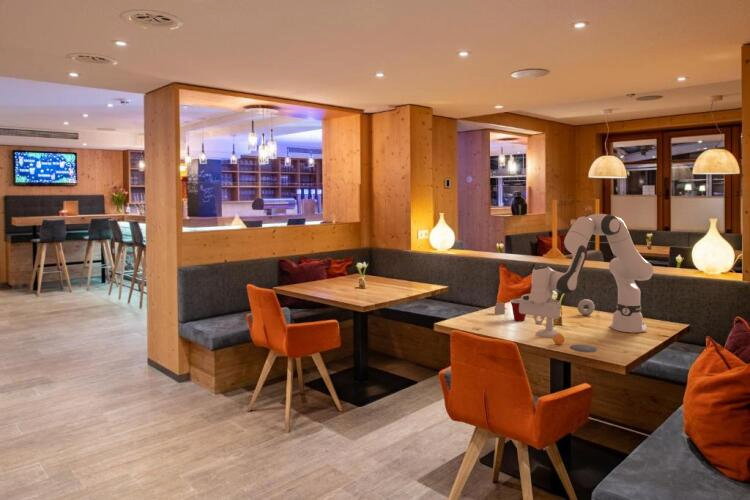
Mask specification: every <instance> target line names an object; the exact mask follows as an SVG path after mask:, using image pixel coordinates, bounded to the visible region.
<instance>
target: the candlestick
mask: <svg viewBox="0 0 750 500" xmlns="http://www.w3.org/2000/svg"><path fill="white" fill-rule="evenodd" d="M554 293H555V291H553V290H551V289H550V290H549V299H553V296H554ZM545 319H546V321H545V328H543V329H539V330H538V331H536V333H535V334H536V335H537V336H538V337H541V338H547V339H553V336H554V335H555V334H557V333H560V334H562V333H561V332H560V331H559V330H555V329H554V328H553V327H554V324H553V320H554V318H548V317H546V318H545Z"/></svg>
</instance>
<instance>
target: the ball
mask: <svg viewBox="0 0 750 500" xmlns="http://www.w3.org/2000/svg"><path fill="white" fill-rule="evenodd" d="M560 333H561V332H560ZM560 333H557V334H555V335H554V336H553V338H552V341H553V342H554V343H555V344H556V345H562V344H563V343H564V342H565V336H564V335H563V334H562V333H561V334H560Z"/></svg>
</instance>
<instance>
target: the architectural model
mask: <svg viewBox="0 0 750 500" xmlns="http://www.w3.org/2000/svg"><path fill="white" fill-rule="evenodd" d="M505 310H507V308H506V303H505V302H501V301H500V302H496V303H495V306H494V315H505V314H506V313H505V312H506V311H505Z"/></svg>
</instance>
